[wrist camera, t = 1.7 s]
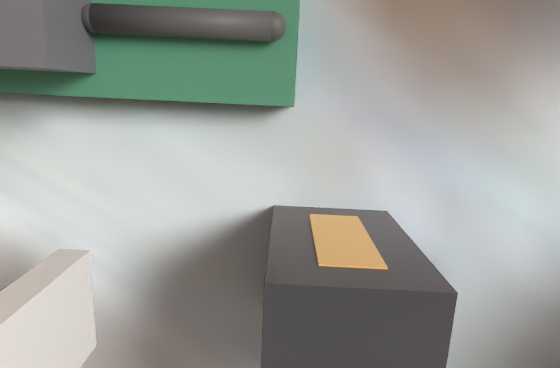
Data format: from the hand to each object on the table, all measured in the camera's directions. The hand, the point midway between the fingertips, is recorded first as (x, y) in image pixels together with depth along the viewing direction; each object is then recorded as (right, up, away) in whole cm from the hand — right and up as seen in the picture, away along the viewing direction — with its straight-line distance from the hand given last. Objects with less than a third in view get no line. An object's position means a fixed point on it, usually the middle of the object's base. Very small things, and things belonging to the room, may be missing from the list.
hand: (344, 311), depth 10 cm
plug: (0, 0, +4) cm, 4 cm away
